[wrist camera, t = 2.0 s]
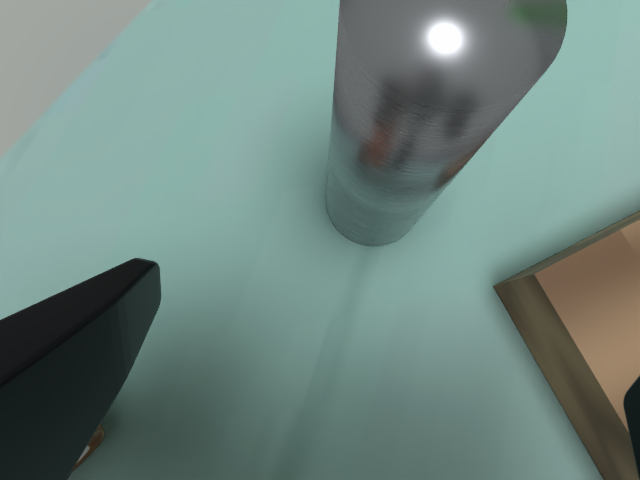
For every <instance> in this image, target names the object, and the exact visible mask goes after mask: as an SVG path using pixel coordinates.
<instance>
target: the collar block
mask: <svg viewBox="0 0 640 480" xmlns="http://www.w3.org/2000/svg"><path fill="white" fill-rule="evenodd" d="M493 287H494V288H495V290H496V292H497V294H498V295H499V297H500V299H501V301H502V302H503V304H504V306H505V308H506V309H507V311H508V313H509V315H510V316H511V318H512V320H513V322H514V323H515V325H516V327H517V329H518V330H519V332H520V334H521V336H522V337H523V339H524V341H525V343H526V344H527V346H528V348H529V350H530V351H531V353H532V355H533V356H534V358H535V360H536V362H537V363H538V365H539V367H540V369H541V370H542V372H543V374H544V376H545V377H546V379H547V381H548V383H549V384H550V386H551V388H552V390H553V391H554V393H555V395H556V397H557V398H558V400H559V402H560V404H561V405H562V407H563V409H564V411H565V412H566V414H567V416H568V418H569V419H570V421H571V423H572V425H573V426H574V428H575V430H576V431H577V433H578V435H579V437H580V438H581V440H582V442H583V444H584V445H585V447H586V449H587V451H588V452H589V454H590V456H591V458H592V459H593V461H594V463H595V465H596V466H597V468H598V470H599V472H600V473H601V475H602V477H603V479H604V480H639V477H638V472H637V468H636V463H635V458H634V454H633V449H632V444H631V440H630V435H629V430H628V426H627V421H626V416H625V412H624V407H623V400H624V396H625V393H626V392H627V390H628V389H629V388H630V387H631V385H632V384H633V383H634V382H635V380H636V379H637V378H638V377H639V375H640V211H638V212H636V213H634V214H632V215H630V216H628V217H627V218H625V219H623V220H621V221H619V222H617V223H615V224H613V225H611V226H609V227H607V228H605V229H603V230H601V231H599V232H597V233H595V234H594V235H592V236H590V237H588V238H586V239H584V240H582V241H580V242H578V243H576V244H574V245H572V246H570V247H568V248H566V249H564V250H563V251H561V252H559V253H557V254H555V255H553V256H551V257H549V258H547V259H545V260H543V261H541V262H539V263H537V264H535V265H533V266H531V267H530V268H528V269H526V270H524V271H522V272H520V273H518V274H516V275H514V276H512V277H510V278H508V279H506V280H504V281H502V282H500V283H498V284H497V285H495V286H493Z"/></svg>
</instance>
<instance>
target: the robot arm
mask: <svg viewBox="0 0 640 480" xmlns="http://www.w3.org/2000/svg"><path fill="white" fill-rule="evenodd" d="M160 301H161V284H160V268H159V265H158V263H156V262H155V261H151V260H146V259H141V258H134V259H131V260H129V261H127V262H125V263H123V264H121V265H118V266H116V267H114V268H112V269H110V270H108V271H105V272H103V273H101V274H99V275H97V276H95V277H92V278H90V279H88V280H86V281H84V282H82V283H79V284H77V285H75V286H73V287H71V288H69V289H66V290H64V291H62V292H60V293H58V294H56V295H53V296H51V297H49V298H47V299H45V300H43V301H40V302H38V303H36V304H34V305H32V306H30V307H28V308H25V309H23V310H21V311H19V312H17V313H15V314H12V315H10V316H8V317H6V318H4V319H2V320H0V480H67V479H68V477H69V475H70V474H71V472H72V470H73V468H74V467H75V465H76V463H77V462H78V460H79V458H80V457H81V455H82V453H83V452H84V450H85V448H86V447H87V445H88V443H89V442H90V440H91V438H92V436H93V435H94V433H95V431H96V430H97V428H98V426H99V425H100V423H101V421H102V420H103V418H104V416H105V415H106V413H107V411H108V410H109V408H110V406H111V404H112V403H113V401H114V399H115V398H116V396H117V394H118V393H119V391H120V389H121V387H122V386H123V384H124V382H125V380H126V379H127V377H128V374H129V372H130V370H131V368H132V366H133V364H134V362H135V359H136V357H137V355H138V353H139V350H140V348H141V346H142V344H143V342H144V339H145V337H146V335H147V333H148V330H149V328H150V326H151V324H152V322H153V319H154V317H155V315H156V313H157V310H158V308H159V305H160ZM623 407H624V412H625V416H626V421H627V426H628V430H629V435H630V440H631V444H632V449H633V454H634V458H635V463H636V468H637V472H638V477H639V480H640V375H639V377H638V378H637V379H636V380H635V382H634V383H633V384H632V385H631V387H630V388H629V389H628V390H627V392H626V393H625V396H624V400H623Z"/></svg>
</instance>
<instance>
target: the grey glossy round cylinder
mask: <svg viewBox="0 0 640 480" xmlns="http://www.w3.org/2000/svg"><path fill="white" fill-rule="evenodd" d="M566 26H567V4H566V0H340V8H339V22H338V36H337V51H336V65H335V79H334V93H333V107H332V122H331V136H330V150H329V164H328V178H327V193H326V205H327V211H328V214H329V217H330V219H331V221H332V223H333V224H334V226H335V227H336V228H337V230H338V231H339V232H340V233H341V234H342V235H344V236H345V237H346V238H348V239H350V240H351V241H353V242H356V243H358V244H362V245H367V246H381V245H386V244H390V243H392V242H395V241H396V240H398V239H400V238H401V237H403V236H404V235H405V234H406V233H407V232H408V231H409V230H410V229H411V228H412V227H413V225H414V224H415V223H416V222H417V221H418V220H419V218H420V217H421V216H422V215H423V214H424V213H425V211H426V210H427V209H428V208H429V207H430V206H431V204H432V203H433V202H434V201H435V200H436V199H437V197H438V196H439V195H440V194H441V193H442V192H443V190H444V189H445V188H446V187H447V186H448V185H449V183H450V182H451V181H452V180H453V179H454V178H455V176H456V175H457V174H458V173H459V172H460V171H461V169H462V168H463V167H464V166H465V165H466V164H467V162H468V161H469V160H470V159H471V158H472V157H473V155H474V154H475V153H476V152H477V151H478V150H479V148H480V147H481V146H482V145H483V144H484V143H485V141H486V140H487V139H488V138H489V137H490V136H491V134H492V133H493V132H494V131H495V130H496V129H497V127H498V126H499V125H500V124H501V123H502V122H503V120H504V119H505V118H506V117H507V116H508V115H509V113H510V112H511V111H512V110H513V109H514V108H515V106H516V105H517V104H518V103H519V102H520V101H521V99H522V98H523V97H524V96H525V95H526V94H527V92H528V91H529V90H530V89H531V88H532V87H533V85H534V84H535V83H536V82H537V81H538V80H539V78H540V77H541V76H542V75H543V74H544V73H545V71H546V70H547V69H548V68H549V66H550V65H551V64H552V62H553V61H554V59H555V58H556V56H557V54H558V52H559V50H560V48H561V45H562V42H563V39H564V36H565V31H566Z"/></svg>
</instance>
